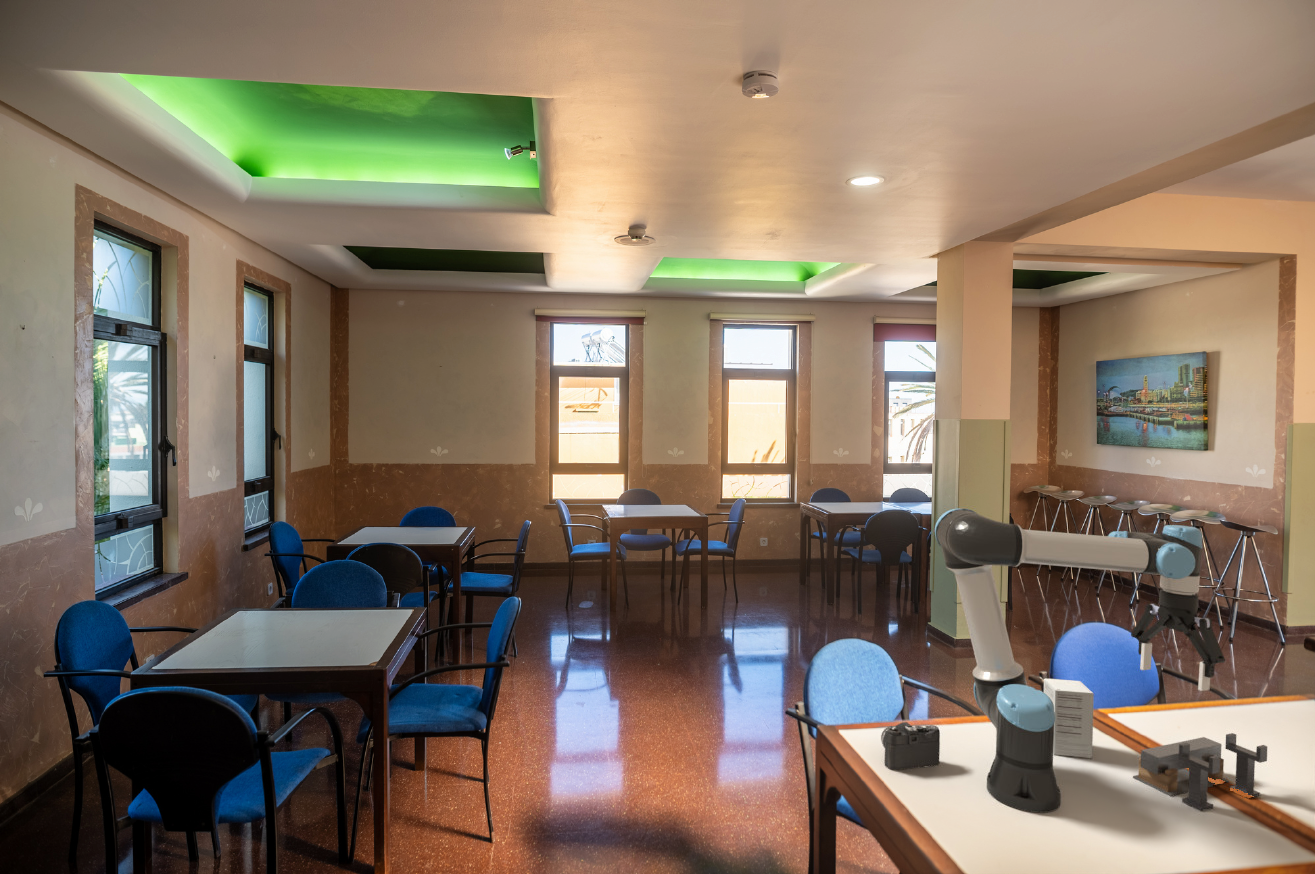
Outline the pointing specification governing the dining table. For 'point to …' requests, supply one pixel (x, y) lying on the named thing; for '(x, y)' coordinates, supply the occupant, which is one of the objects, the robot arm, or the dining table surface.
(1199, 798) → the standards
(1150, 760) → the rail
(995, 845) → the dining table surface
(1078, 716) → the supplement box
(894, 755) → the camera
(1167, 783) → the bench rests
